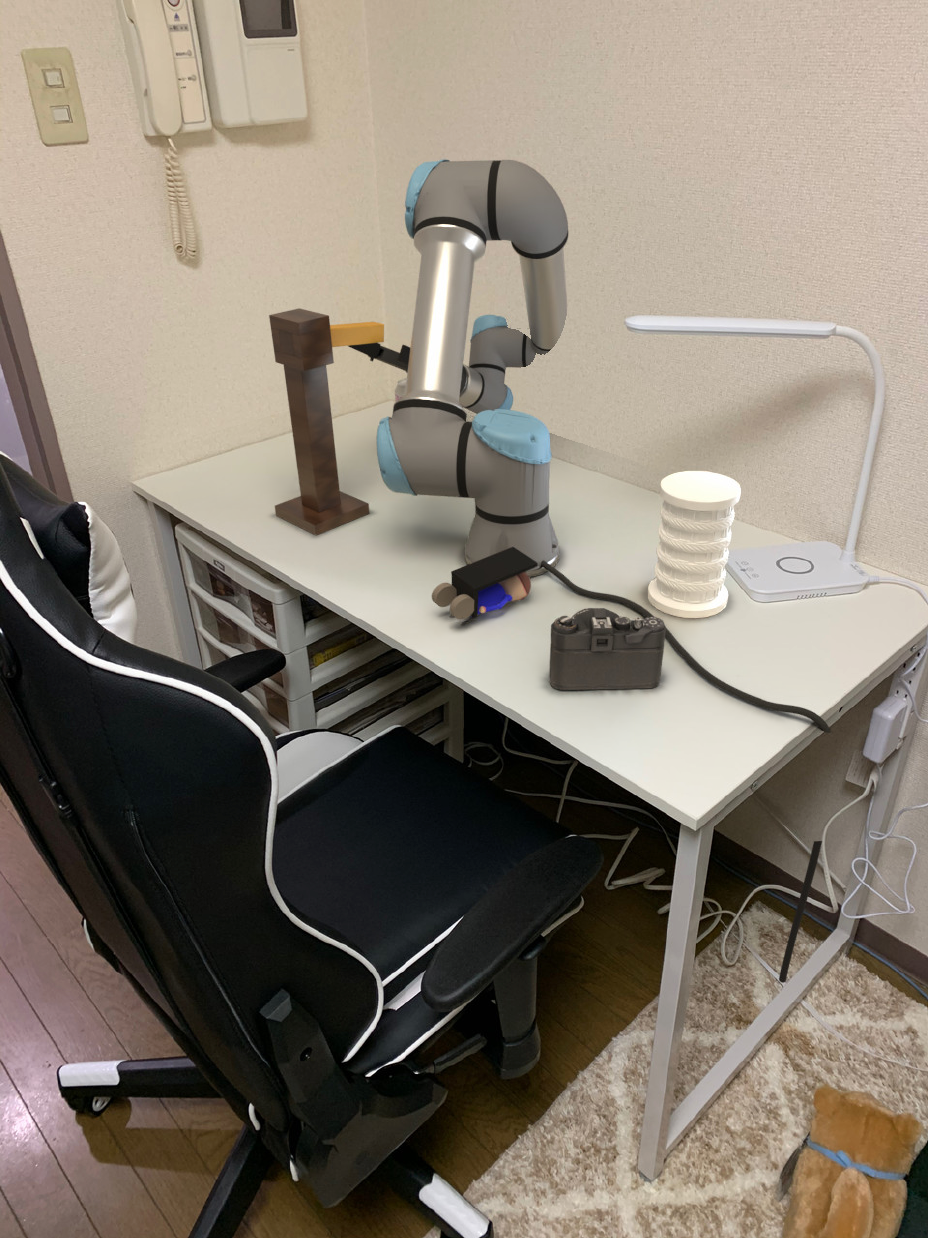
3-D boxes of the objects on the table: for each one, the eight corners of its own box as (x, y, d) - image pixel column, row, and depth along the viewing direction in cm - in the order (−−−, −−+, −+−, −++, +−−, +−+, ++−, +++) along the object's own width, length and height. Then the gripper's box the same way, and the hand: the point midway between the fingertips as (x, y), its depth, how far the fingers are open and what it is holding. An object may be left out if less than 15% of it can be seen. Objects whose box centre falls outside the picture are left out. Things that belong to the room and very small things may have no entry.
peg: (298, 350, 144) (297, 331, 143) (287, 347, 146) (286, 328, 145) (384, 341, 156) (384, 324, 155) (372, 339, 158) (373, 321, 156)
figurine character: (460, 644, 127) (542, 600, 134) (454, 600, 123) (538, 557, 129) (434, 624, 132) (514, 583, 138) (427, 581, 128) (510, 541, 134)
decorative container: (736, 617, 129) (753, 502, 119) (655, 619, 129) (666, 504, 120) (716, 578, 139) (731, 468, 129) (641, 579, 139) (651, 470, 129)
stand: (316, 535, 155) (289, 328, 136) (275, 515, 162) (246, 316, 144) (369, 513, 162) (351, 313, 144) (328, 495, 169) (306, 302, 151)
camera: (646, 644, 124) (652, 581, 118) (663, 691, 114) (671, 625, 109) (542, 648, 123) (544, 585, 118) (551, 696, 114) (554, 629, 109)
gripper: (493, 414, 166) (416, 380, 150) (404, 387, 182) (325, 354, 165) (507, 375, 165) (431, 336, 149) (416, 351, 180) (338, 313, 164)
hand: (375, 345), depth 157 cm, fingers open, 13 cm apart
